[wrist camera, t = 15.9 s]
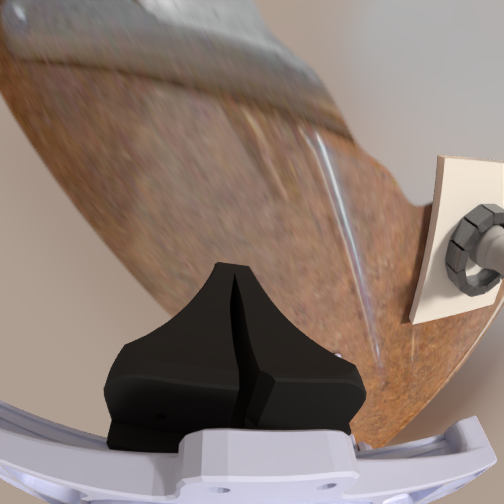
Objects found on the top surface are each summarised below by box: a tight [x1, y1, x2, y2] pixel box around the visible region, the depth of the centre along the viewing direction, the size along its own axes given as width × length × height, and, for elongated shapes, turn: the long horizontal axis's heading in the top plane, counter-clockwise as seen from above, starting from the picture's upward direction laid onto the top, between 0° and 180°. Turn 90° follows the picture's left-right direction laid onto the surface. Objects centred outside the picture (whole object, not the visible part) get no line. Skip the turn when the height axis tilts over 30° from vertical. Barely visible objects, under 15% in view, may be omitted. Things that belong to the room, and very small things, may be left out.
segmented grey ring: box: [445, 204, 504, 297], centre depth 22 cm, size 8×8×2 cm
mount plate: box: [409, 155, 504, 324], centre depth 23 cm, size 16×12×1 cm
